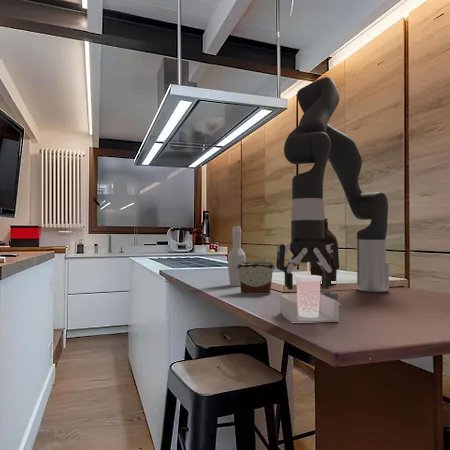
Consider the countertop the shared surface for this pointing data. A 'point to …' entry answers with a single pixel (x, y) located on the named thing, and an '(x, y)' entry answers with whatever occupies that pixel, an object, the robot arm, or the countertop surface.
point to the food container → (255, 277)
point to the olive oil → (325, 253)
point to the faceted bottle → (235, 257)
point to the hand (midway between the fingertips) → (307, 288)
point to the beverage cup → (308, 294)
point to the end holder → (326, 314)
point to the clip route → (331, 296)
